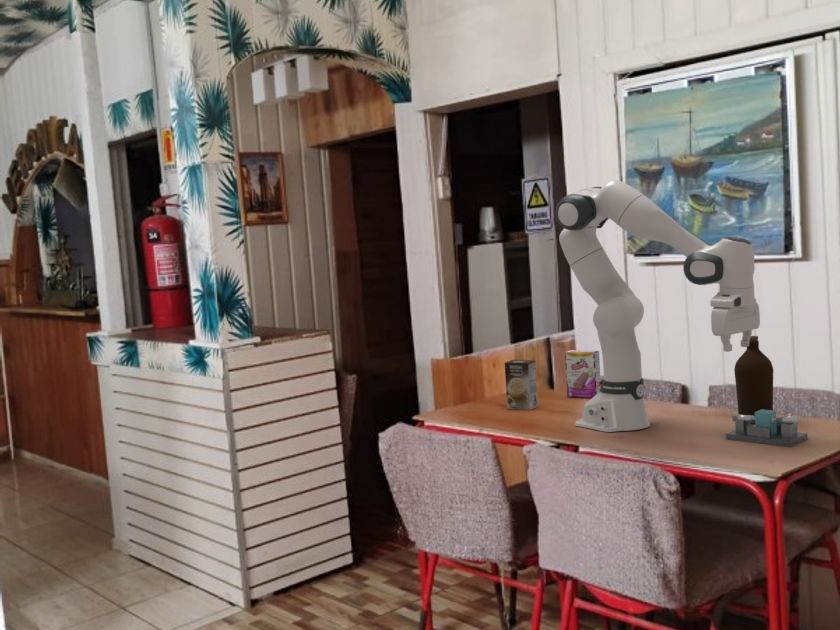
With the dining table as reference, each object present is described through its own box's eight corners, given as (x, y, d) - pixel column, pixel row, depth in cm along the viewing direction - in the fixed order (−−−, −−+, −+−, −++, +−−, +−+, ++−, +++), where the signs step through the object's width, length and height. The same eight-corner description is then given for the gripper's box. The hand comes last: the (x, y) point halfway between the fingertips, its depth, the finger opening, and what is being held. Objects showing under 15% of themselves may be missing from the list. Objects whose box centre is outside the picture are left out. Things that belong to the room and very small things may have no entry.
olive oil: (759, 427, 266) (756, 339, 264) (729, 422, 275) (725, 337, 273) (783, 420, 272) (779, 335, 270) (752, 416, 281) (748, 333, 279)
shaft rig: (725, 439, 256) (724, 412, 255) (744, 431, 262) (742, 405, 262) (790, 446, 243) (789, 418, 242) (807, 438, 249) (806, 411, 249)
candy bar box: (566, 398, 331) (564, 351, 330) (572, 395, 336) (569, 349, 334) (597, 398, 326) (594, 352, 324) (602, 396, 330) (599, 349, 328)
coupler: (753, 434, 253) (752, 412, 252) (760, 431, 256) (759, 409, 255) (771, 436, 249) (770, 413, 249) (778, 432, 252) (777, 410, 251)
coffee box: (506, 409, 320) (503, 362, 318) (514, 405, 325) (511, 359, 324) (530, 410, 315) (527, 362, 314) (538, 406, 320) (535, 359, 319)
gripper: (744, 293, 261) (744, 343, 263) (706, 300, 247) (706, 352, 249) (766, 295, 257) (765, 345, 258) (729, 302, 243) (728, 355, 244)
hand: (736, 349), depth 253 cm, fingers open, 8 cm apart
